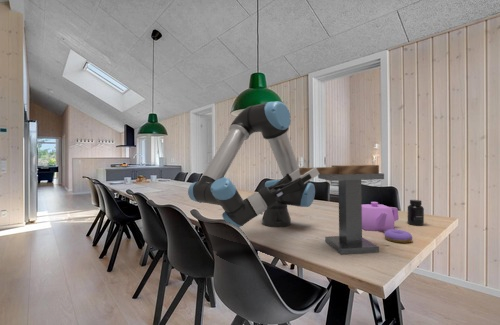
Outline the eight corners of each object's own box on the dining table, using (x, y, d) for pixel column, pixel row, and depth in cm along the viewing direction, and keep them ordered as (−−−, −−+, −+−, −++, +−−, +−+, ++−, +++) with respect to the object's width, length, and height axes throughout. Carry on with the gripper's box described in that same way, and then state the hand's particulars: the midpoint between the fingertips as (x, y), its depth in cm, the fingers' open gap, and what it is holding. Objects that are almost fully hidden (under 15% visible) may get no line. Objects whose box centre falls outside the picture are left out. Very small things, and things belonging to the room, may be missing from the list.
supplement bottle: (419, 226, 120) (418, 201, 120) (404, 223, 126) (404, 200, 126) (426, 224, 123) (426, 200, 123) (412, 221, 129) (412, 198, 129)
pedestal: (333, 255, 87) (332, 175, 87) (318, 241, 101) (317, 173, 101) (386, 251, 89) (385, 173, 89) (364, 239, 103) (364, 171, 103)
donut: (381, 240, 101) (382, 228, 102) (386, 239, 108) (386, 227, 109) (410, 245, 95) (411, 232, 95) (413, 243, 102) (414, 231, 102)
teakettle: (400, 227, 120) (400, 201, 120) (386, 235, 109) (385, 206, 109) (365, 221, 133) (364, 198, 132) (349, 227, 122) (348, 202, 122)
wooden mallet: (304, 175, 88) (304, 167, 88) (297, 174, 97) (297, 166, 97) (378, 173, 91) (378, 165, 91) (365, 172, 100) (364, 164, 100)
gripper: (262, 202, 104) (305, 176, 106) (274, 216, 79) (329, 181, 81) (253, 187, 103) (296, 161, 105) (262, 196, 79) (318, 161, 80)
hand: (310, 169), depth 93 cm, fingers open, 13 cm apart
